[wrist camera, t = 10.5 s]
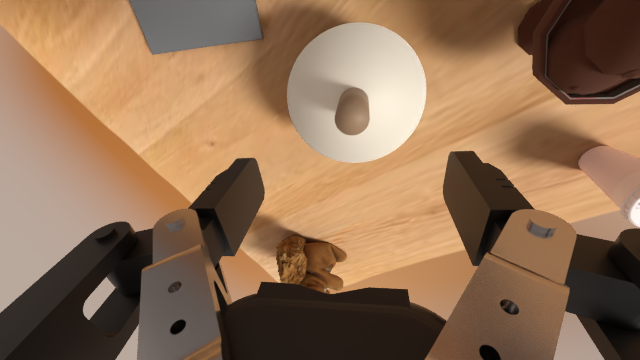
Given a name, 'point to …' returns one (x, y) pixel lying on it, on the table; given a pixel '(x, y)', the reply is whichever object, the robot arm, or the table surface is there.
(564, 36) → the ice cream bowl
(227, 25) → the mat
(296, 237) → the stuffed squirrel
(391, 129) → the lid
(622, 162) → the smoothie
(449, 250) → the table surface
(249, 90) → the table surface
